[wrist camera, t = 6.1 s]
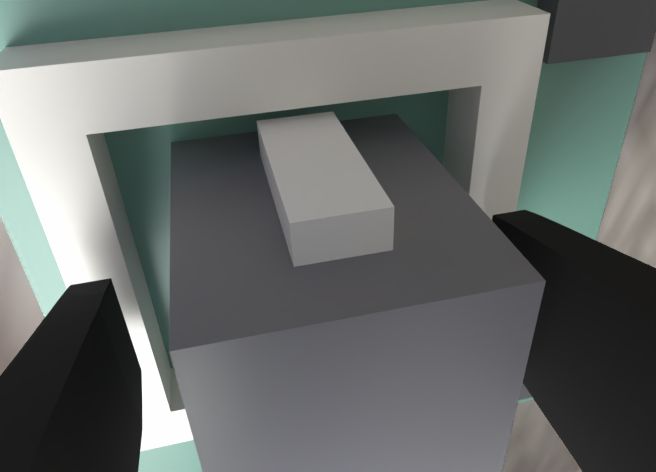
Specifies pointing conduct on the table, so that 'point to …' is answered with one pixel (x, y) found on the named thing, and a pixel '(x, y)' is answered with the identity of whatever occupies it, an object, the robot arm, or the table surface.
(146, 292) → the board
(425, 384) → the plug
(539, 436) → the table surface
